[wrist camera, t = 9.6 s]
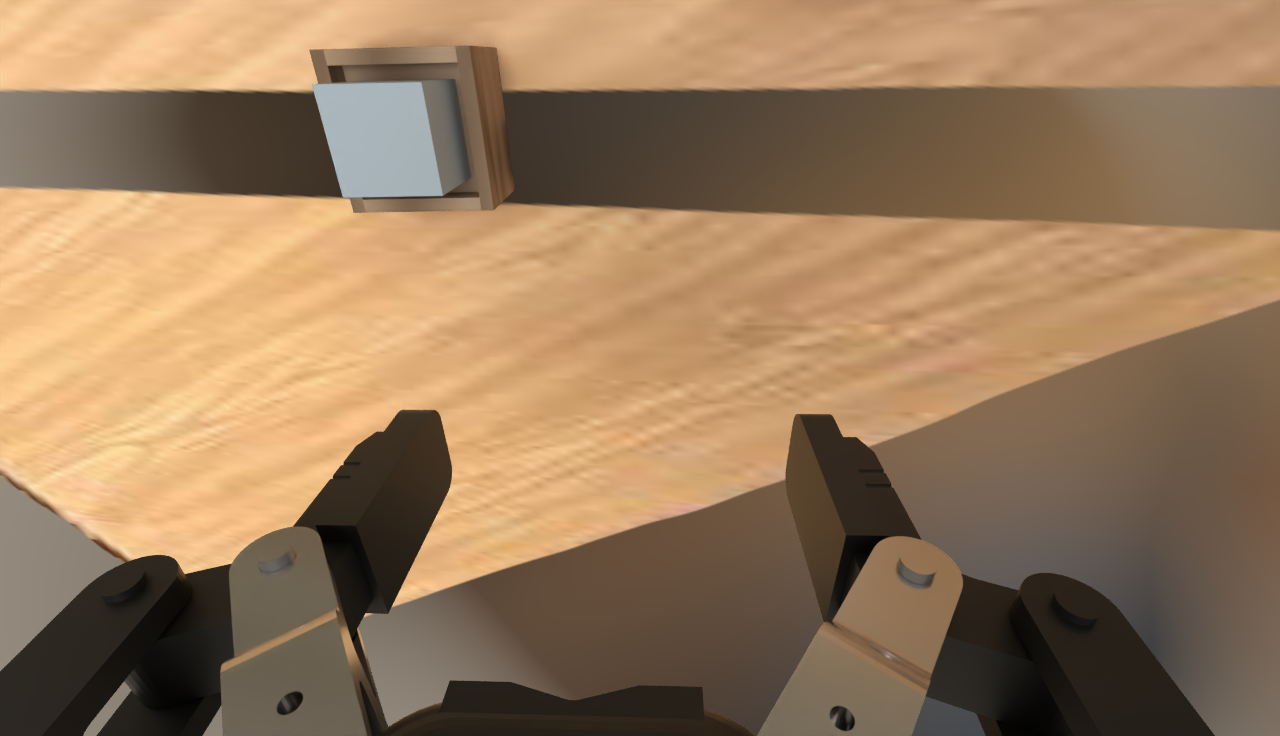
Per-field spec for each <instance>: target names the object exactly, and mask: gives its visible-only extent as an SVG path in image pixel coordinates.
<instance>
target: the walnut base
mask: <svg viewBox="0 0 1280 736" xmlns="http://www.w3.org/2000/svg"><path fill="white" fill-rule="evenodd" d="M309 51H310V54H311V58H312V62H313V65H314V69H315V73H316V76H317V80H318V84H325V83H339V82H353V81H380V80H430V79H455V80H456V86H457V92H458V98H459V104H460V111H461V117H462V123H463V129H464V135H465V142H466V148H467V154H468V160H469V166H470V173H471V178H469V179H468V180H466V181H465V182H463V183H462V184H460V185H459V186H457V187H456V188H454V189H453V190H451V191H449V192H448V193H446V194H445V195H443V196H404V197H350V201H351V204H352V208H353V212H354V213H362V212H415V211H468V210H494V209H495V208H496V207H497V206H498V205H500V204H501V203H502V202H503V200H505V199H506V198H507V197H508V196H509V195H510V194H511V193H512V192H513V191H514V182H513V174H512V166H511V159H510V151H509V144H508V135H507V128H506V120H505V112H504V105H503V97H502V89H501V81H500V74H499V66H498V58H497V50H496V48H491V47H478V46H440V47H401V48H362V49H323V50H309Z"/></svg>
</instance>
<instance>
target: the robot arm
mask: <svg viewBox="0 0 1280 736" xmlns="http://www.w3.org/2000/svg"><path fill="white" fill-rule="evenodd" d="M451 478H452V465H451V460H450V456H449V451H448V447H447V443H446V438H445V434H444V430H443V425H442V421H441V417H440V415H439V413H438V412H437V411H436V410H401V411H400V412H398V414H397V415H396V416H395V418H394V419H393V420H392V422H391V423H390V424H389V426H388V427H387V428H386V430H385V431H384V432H376V433H374V434H373V435H371V436H370V437H368V438H367V439H366V440H364V441H363V442H361V443H360V444H358V445H357V446H356V447H355V448H354V450H353V451H352V452H351V453H350V455H349V456H348V457H347V459H346V460H345V461H344V465H341V466H340V467H339V469H338V470H337V471H336V473H335V474H334V475H333V479H330V480H329V481H328V483H327V484H326V485H325V487H324V488H323V489H322V490H321V492H320V493H319V494H318V495H317V497H316V498H315V499H314V501H313V502H312V503H311V504H310V506H309V507H308V508H307V509H306V511H305V512H304V513H303V515H302V516H301V517H300V518H299V520H298V521H297V522H296V523H295V525H294V526H293V527H288V528H283V529H279V530H276V531H273V532H271V533H269V534H266V535H264V536H262V537H260V538H259V539H257V540H255V541H254V542H252V543H251V544H249V545H248V546H247V547H246V548H244V549H243V550H242V551H241V552H240V553H239V554H238V556H237V557H236V558H235V559H234V561H233V563H232V564H228V565H224V566H219V567H215V568H210V569H206V570H201V571H197V572H193V573H188V574H184V572H183V571H182V569H181V567H180V566H179V564H178V563H177V561H176V560H175V559H174V558H172V557H170V556H165V555H152V556H146V557H141V558H138V559H135V560H132V561H129V562H126V563H124V564H122V565H119V566H117V567H115V568H113V569H111V570H110V571H108V572H106V573H104V574H103V575H101V576H100V577H98V578H97V579H96V580H94V581H93V582H92V583H90V584H89V585H88V586H87V587H86V588H85V589H84V590H83V591H81V593H79V594H78V595H77V596H76V598H74V599H73V600H72V601H71V602H70V604H68V605H67V606H66V607H65V608H64V609H63V610H62V611H61V612H60V613H59V614H58V615H57V616H56V617H55V618H54V619H53V620H52V621H51V622H50V623H49V624H48V625H47V626H46V627H45V628H44V629H43V630H42V631H41V632H40V633H39V634H38V635H37V636H36V637H35V638H34V639H33V640H32V641H31V642H30V643H29V644H28V645H27V646H26V647H25V648H24V649H23V650H22V651H21V652H20V653H19V654H18V655H16V657H14V659H13V660H11V662H9V663H8V664H7V665H6V666H5V667H4V668H3V669H2V670H1V671H0V736H83V734H84V732H85V731H86V729H87V727H88V726H89V725H90V723H91V721H92V720H93V719H94V718H95V717H96V716H97V714H98V713H99V712H100V710H101V709H102V708H103V707H104V705H105V704H106V703H107V702H108V700H109V699H110V698H111V697H112V696H113V694H114V693H115V692H116V691H117V689H118V688H119V687H120V686H121V684H122V683H123V682H124V681H125V683H126V684H127V685H128V686H129V688H130V689H131V690H132V691H131V692H130V693H129V695H128V696H127V697H126V699H125V700H124V701H123V702H122V704H121V705H120V706H119V708H118V709H117V710H116V711H115V713H114V714H113V715H112V717H111V718H110V719H109V720H108V722H107V723H106V724H105V726H104V727H103V728H102V730H101V731H100V732H99V733H98V735H97V736H202V735H203V734H204V732H205V731H206V729H207V727H208V726H209V724H210V723H211V721H212V719H213V718H214V716H215V715H216V713H217V711H218V710H219V708H220V706H221V705H222V728H223V736H755V735H754V734H753V733H751V732H750V731H749V730H748V729H746V728H745V727H743V726H742V725H740V724H738V723H737V722H735V721H733V720H732V719H730V718H727V717H726V716H723V715H721V714H719V713H717V712H714V711H711V710H708V709H705V708H704V707H703V691H702V687H679V686H635V687H631V688H627V689H623V690H618V691H614V692H610V693H606V694H602V695H598V696H593V697H589V698H585V699H581V700H566V699H563V698H560V697H557V696H554V695H550V694H547V693H544V692H541V691H538V690H535V689H531V688H528V687H525V686H522V685H519V684H515V683H512V682H486V681H484V682H482V681H450V682H449V685H448V687H447V690H446V693H445V697H444V699H443V702H442V703H438V704H435V705H432V706H429V707H426V708H424V709H421V710H418V711H416V712H414V713H412V714H410V715H408V716H406V717H404V718H402V719H401V720H399V721H398V722H396V723H394V724H392V725H391V726H389V727H388V724H387V722H386V719H385V716H384V713H383V709H382V706H381V703H380V699H379V696H378V692H377V689H376V686H375V682H374V679H373V675H372V672H371V668H370V665H369V661H368V658H367V654H366V651H365V647H364V644H363V641H362V637H361V634H360V632H359V629H358V626H359V624H360V622H361V620H362V619H363V617H364V615H365V613H381V614H383V613H384V614H388V613H389V611H390V609H391V607H392V605H393V603H394V601H395V599H396V597H397V595H398V593H399V591H400V589H401V587H402V585H403V582H404V580H405V578H406V576H407V574H408V572H409V570H410V568H411V566H412V564H413V562H414V560H415V558H416V556H417V554H418V552H419V550H420V548H421V546H422V544H423V542H424V540H425V538H426V536H427V534H428V532H429V530H430V527H431V525H432V523H433V521H434V519H435V517H436V515H437V513H438V511H439V509H440V507H441V505H442V503H443V501H444V499H445V497H446V495H447V493H448V491H449V488H450V484H451ZM786 490H787V496H788V500H789V503H790V506H791V510H792V513H793V517H794V520H795V523H796V527H797V531H798V534H799V538H800V541H801V544H802V548H803V552H804V555H805V558H806V562H807V566H808V569H809V572H810V576H811V579H812V583H813V586H814V589H815V593H816V597H817V600H818V604H819V607H820V610H821V614H822V618H823V621H824V623H823V625H822V626H821V627H820V629H819V631H818V632H817V634H816V636H815V638H814V639H813V641H812V643H811V644H810V646H809V648H808V650H807V651H806V653H805V655H804V656H803V658H802V660H801V661H800V663H799V665H798V667H797V668H796V670H795V672H794V673H793V675H792V677H791V679H790V680H789V682H788V684H787V685H786V687H785V689H784V691H783V692H782V694H781V696H780V698H779V699H778V701H777V703H776V704H775V706H774V708H773V710H772V711H771V713H770V715H769V716H768V718H767V720H766V722H765V723H764V725H763V727H762V728H761V730H760V732H759V734H758V735H757V736H911V734H912V732H913V729H914V726H915V724H916V721H917V718H918V715H919V712H920V710H921V707H922V704H923V701H924V698H925V696H927V697H930V698H933V699H936V700H939V701H942V702H945V703H947V704H950V705H953V706H956V707H959V708H962V709H965V710H968V711H972V712H974V713H976V714H977V716H978V719H979V721H980V723H981V726H982V728H983V730H984V732H985V735H986V736H1215V735H1214V734H1213V733H1212V731H1211V730H1210V729H1209V727H1208V726H1207V725H1206V723H1205V722H1204V721H1203V720H1202V718H1201V717H1200V716H1199V714H1198V713H1197V712H1196V710H1195V709H1194V708H1193V706H1192V705H1191V704H1190V702H1189V701H1188V700H1187V698H1186V697H1185V696H1184V695H1183V693H1182V692H1181V691H1180V689H1179V688H1178V687H1177V685H1176V684H1175V683H1174V682H1173V680H1172V679H1171V677H1170V676H1169V675H1168V673H1167V672H1166V671H1165V669H1164V668H1163V667H1162V666H1161V664H1160V663H1159V662H1158V660H1157V659H1156V658H1155V656H1154V655H1153V654H1152V652H1151V651H1150V650H1149V648H1148V647H1147V646H1146V644H1145V643H1144V642H1143V640H1142V639H1141V638H1140V637H1139V635H1138V634H1137V633H1136V631H1135V630H1134V629H1133V627H1132V626H1131V625H1130V623H1129V622H1128V621H1127V619H1126V618H1125V617H1124V615H1123V614H1122V613H1121V612H1120V611H1119V609H1118V608H1117V607H1116V606H1115V605H1114V604H1113V603H1112V602H1111V601H1110V600H1109V599H1107V598H1106V597H1105V596H1103V595H1102V594H1101V593H1099V592H1098V591H1096V590H1095V589H1093V588H1091V587H1090V586H1088V585H1086V584H1084V583H1082V582H1079V581H1077V580H1075V579H1072V578H1069V577H1066V576H1063V575H1058V574H1052V573H1039V574H1034V575H1031V576H1029V577H1027V578H1026V579H1025V580H1024V581H1023V583H1022V584H1021V586H1020V589H1019V590H1015V589H1011V588H1007V587H1003V586H1000V585H996V584H992V583H988V582H985V581H981V580H977V579H974V578H971V577H968V576H966V575H963V574H961V572H960V570H959V568H958V567H957V565H956V564H955V563H954V561H953V560H952V559H951V558H950V557H949V556H948V555H946V554H945V553H944V552H943V551H942V550H940V549H938V548H937V547H935V546H934V545H931V544H929V543H927V542H925V541H922V540H921V538H920V536H919V534H918V532H917V531H916V529H915V527H914V525H913V523H912V521H911V520H910V518H909V516H908V514H907V512H906V510H905V508H904V507H903V505H902V503H901V501H900V499H899V498H898V496H897V494H896V492H895V490H894V488H892V487H891V482H890V481H889V479H888V477H887V475H886V474H885V473H884V470H883V468H882V466H881V464H880V462H879V460H878V459H877V457H876V455H875V453H874V452H873V451H872V450H871V449H870V448H868V447H867V446H866V445H865V444H864V443H863V442H861V441H860V440H859V439H858V438H857V437H843V436H842V434H841V432H840V430H839V428H838V426H837V424H836V422H835V420H834V418H833V416H832V415H830V414H796V415H795V417H794V421H793V426H792V433H791V439H790V446H789V453H788V459H787V466H786Z"/></svg>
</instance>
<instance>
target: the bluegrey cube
mask: <svg viewBox="0 0 1280 736" xmlns="http://www.w3.org/2000/svg"><path fill="white" fill-rule="evenodd" d="M312 86H313V90H314V94H315V97H316V101H317V104H318V108H319V111H320V115H321V119H322V123H323V126H324V129H325V133H326V137H327V141H328V144H329V148H330V152H331V155H332V159H333V162H334V166H335V170H336V173H337V177H338V181H339V184H340V188H341V191H342V195H343V197H404V196H443V195H445V194H446V193H448V192H449V191H451V190H453V189H454V188H456V187H457V186H459V185H460V184H462V183H463V182H465V181H466V180H468V179H469V178H471V173H470V166H469V160H468V154H467V148H466V142H465V135H464V129H463V123H462V117H461V111H460V104H459V98H458V92H457V86H456V80H455V79H430V80H380V81H353V82H339V83H325V84H312Z"/></svg>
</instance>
